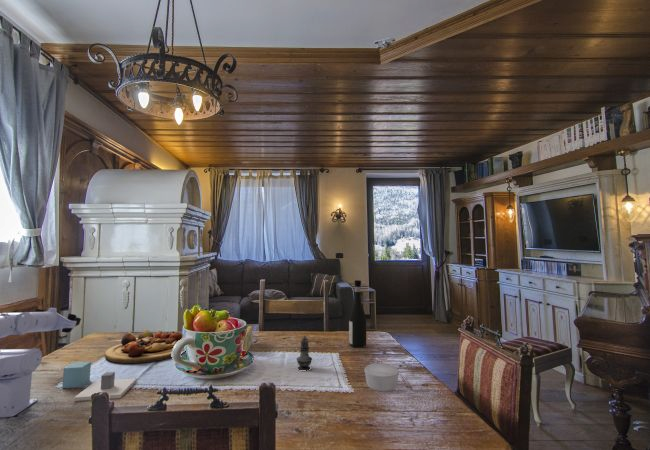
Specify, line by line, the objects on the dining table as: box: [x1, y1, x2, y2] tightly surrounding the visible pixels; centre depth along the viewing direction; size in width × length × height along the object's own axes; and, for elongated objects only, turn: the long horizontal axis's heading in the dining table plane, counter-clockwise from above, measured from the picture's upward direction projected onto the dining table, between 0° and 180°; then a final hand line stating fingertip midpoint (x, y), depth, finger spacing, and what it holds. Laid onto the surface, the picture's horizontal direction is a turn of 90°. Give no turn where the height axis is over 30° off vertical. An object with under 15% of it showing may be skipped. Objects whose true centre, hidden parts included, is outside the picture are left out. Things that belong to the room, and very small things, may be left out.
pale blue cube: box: [61, 361, 92, 389], centre depth 103 cm, size 5×5×6 cm
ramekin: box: [363, 363, 400, 392], centre depth 105 cm, size 11×11×5 cm
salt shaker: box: [296, 335, 313, 372], centre depth 119 cm, size 6×6×12 cm
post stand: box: [73, 371, 137, 402], centre depth 99 cm, size 12×12×5 cm
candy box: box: [243, 325, 253, 352], centre depth 143 cm, size 16×2×8 cm, turn 4°
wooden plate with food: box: [104, 329, 183, 364], centre depth 138 cm, size 32×32×8 cm
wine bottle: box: [348, 279, 367, 348], centre depth 150 cm, size 8×8×30 cm
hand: (67, 319), depth 108 cm, fingers open, 7 cm apart
